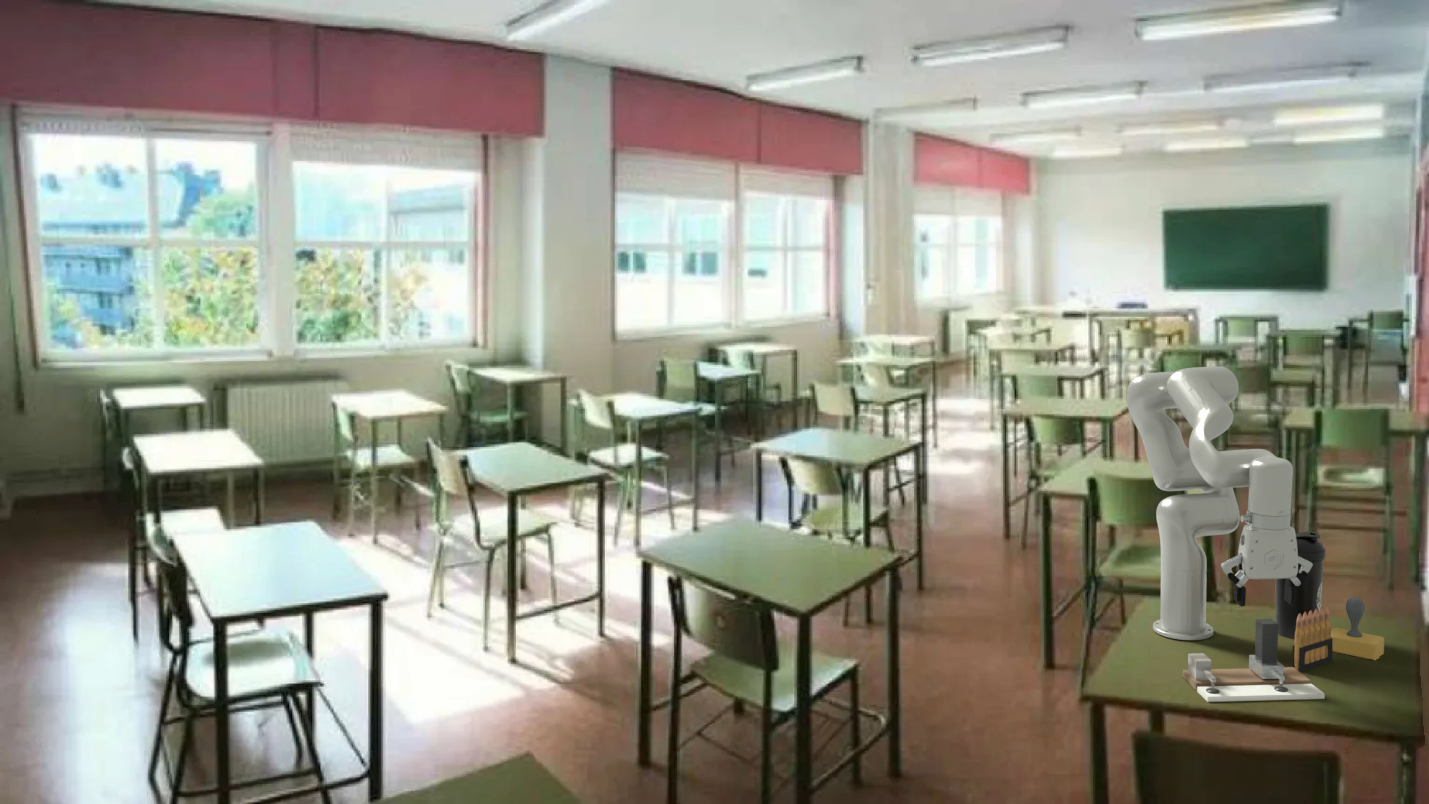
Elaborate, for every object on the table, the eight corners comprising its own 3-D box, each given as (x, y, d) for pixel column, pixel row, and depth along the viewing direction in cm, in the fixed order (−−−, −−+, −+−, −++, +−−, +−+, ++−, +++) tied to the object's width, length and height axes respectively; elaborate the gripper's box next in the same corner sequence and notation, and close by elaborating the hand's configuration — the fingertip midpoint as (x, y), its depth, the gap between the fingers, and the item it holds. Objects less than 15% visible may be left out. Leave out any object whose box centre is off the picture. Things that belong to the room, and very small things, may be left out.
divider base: (1182, 677, 223) (1182, 651, 222) (1293, 674, 222) (1293, 648, 221) (1203, 697, 212) (1203, 670, 212) (1319, 694, 211) (1319, 667, 211)
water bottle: (1326, 642, 238) (1329, 539, 235) (1274, 639, 242) (1276, 537, 239) (1319, 627, 247) (1321, 528, 244) (1268, 624, 251) (1270, 526, 248)
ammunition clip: (1299, 672, 223) (1301, 615, 221) (1291, 669, 224) (1292, 613, 223) (1332, 661, 228) (1334, 605, 226) (1324, 658, 229) (1325, 603, 228)
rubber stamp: (1384, 653, 231) (1386, 598, 229) (1375, 661, 227) (1377, 605, 225) (1332, 643, 238) (1334, 589, 236) (1323, 650, 234) (1324, 596, 232)
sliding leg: (1248, 667, 221) (1249, 616, 220) (1269, 667, 221) (1270, 616, 220) (1271, 687, 212) (1273, 633, 210) (1292, 686, 211) (1294, 633, 210)
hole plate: (1197, 691, 215) (1197, 685, 215) (1311, 688, 214) (1311, 682, 214) (1207, 701, 210) (1207, 695, 210) (1324, 698, 209) (1324, 692, 209)
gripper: (1231, 527, 211) (1228, 611, 214) (1323, 524, 210) (1318, 609, 213) (1215, 516, 219) (1212, 598, 221) (1304, 514, 218) (1299, 596, 221)
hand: (1264, 603), depth 217 cm, fingers open, 9 cm apart
